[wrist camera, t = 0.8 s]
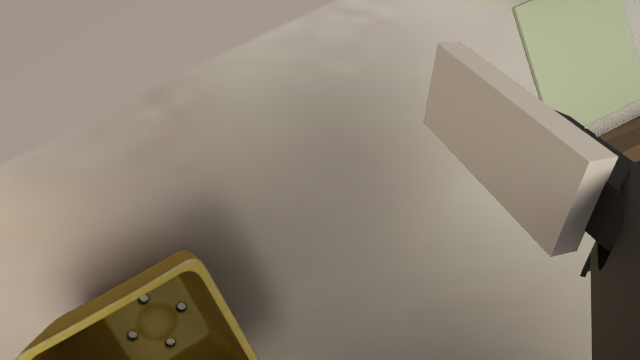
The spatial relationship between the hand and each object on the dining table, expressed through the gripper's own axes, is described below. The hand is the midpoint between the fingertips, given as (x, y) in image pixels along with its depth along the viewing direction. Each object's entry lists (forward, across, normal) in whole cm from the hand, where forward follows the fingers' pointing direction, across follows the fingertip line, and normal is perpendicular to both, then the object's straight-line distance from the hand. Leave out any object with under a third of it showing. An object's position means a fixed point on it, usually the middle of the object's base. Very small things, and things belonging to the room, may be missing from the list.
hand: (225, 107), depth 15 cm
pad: (+16, -29, +8) cm, 34 cm away
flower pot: (+10, +4, +19) cm, 22 cm away
